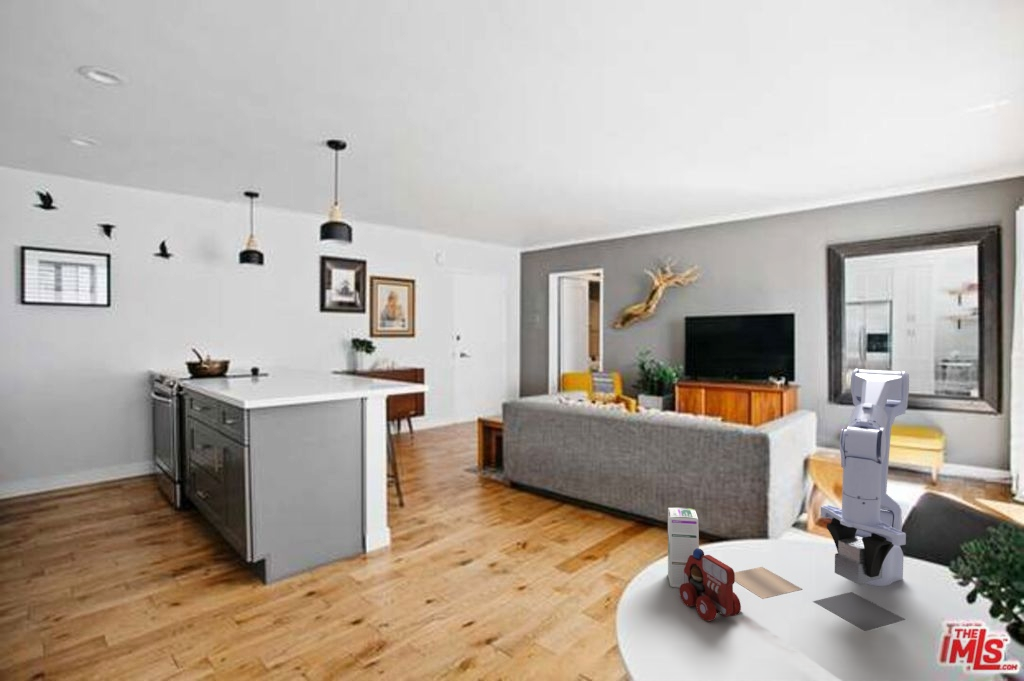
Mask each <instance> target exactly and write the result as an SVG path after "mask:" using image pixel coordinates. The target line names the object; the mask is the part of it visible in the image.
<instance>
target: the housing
mask: <svg viewBox="0 0 1024 681" xmlns="http://www.w3.org/2000/svg"><path fill="white" fill-rule="evenodd" d="M882 570H883V564H882V567H881V570H880V573H879V576H875V577H869V576H867V572H866V553H865V548H864V544H863V541H862V538H861V537H859V536H857V537H852V538H848V539H843V540H839V542H838V551H837V553H835V554H834V573H835V574H836V575H839V576H840V577H842V578H844V579H847V580H848V581H851V582H853V583H854V584H857V585H861V584H866V583H865V582H869V581H873V580H877V579H881V578H882Z"/></svg>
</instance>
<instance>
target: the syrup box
mask: <svg viewBox="0 0 1024 681" xmlns="http://www.w3.org/2000/svg"><path fill="white" fill-rule="evenodd" d="M699 520H700V519H699V518H698V514H697V512H696V509H695V508H690V507H668V508H667V577H668V581H669V582H668V583H669V586H670V587H673V588H678V589H680V586H681V585H682V584H684V568H685V566H686V563H687V561H688V558H689V556H690V555H693V551H694V550H695V549H697V548H699V549H700V543H699V542H700V539H699V538H700V536H699V532H700V531H699V530H700V529H699V528H700V526H699V524H700V523H699Z"/></svg>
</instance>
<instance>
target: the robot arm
mask: <svg viewBox="0 0 1024 681" xmlns="http://www.w3.org/2000/svg"><path fill="white" fill-rule="evenodd" d="M850 392H851V393H850V394H851V396H852V404H853V405H854V408H853V409H852V412H851V413H850V418H849V421H848V424H847V428H842V429H841V432H840V436H839V452H840V453H839V454H840V458H841V459H840V461H841V462H840V463H841V464H840V466H841V467H840V468H842V488H841V489H842V490H841V491H842V492H841V493H842V495H841V508H839V507H836V506H832V505H829V504H828V505H827V504H826V505H821V506H820V517H822V518H825V519H827V518H829V519H830V520H831V521H830V522H829V523H827V524H826V529H827V530H828V532H829V534H830V535H831V537H832V539H833V542H834V544H835V547H836V551H837V552H838V542H839V540H843V539H848V538H852V537H857V536H859V537H861V538H862V541H863V544H864V548H865V553H866V572H867V576H869V577H875V576H879V573H880V570H881V567H882V564H883V570H882V578H881V579H877V580H873V581H869V582H865V583H864V584H867V585H871V586H876V587H877V586H878V587H886V586H887V587H888V586H889V585H891V584H892V583H894V582H898V581H903V580H904V559H905V558H904V552H903V550H902V548H901V546H905V545H907V544H906V543H907V539H906V538H907V532H903V531H902V529H903V517H902V513H903V512H902V508H901V506H900V504H899V503H898V502H897V501H895V499H894V498H892V497H891V496H890V495H888V494H887V489H888V488H887V487H888V478H889V477H888V476H889V460H890V451H891V450H890V449H891V448H890V447H891V437H892V436H891V434H892V427H893V424H894V421H895V419H896V417H899V416H901V415H905V414H906V410H907V409H908V403H909V402H908V401H909V394H910V374H909V373H908V372H907V371H906V370H902V371H898V370H897V371H896V370H894V371H893V370H880V369H879V370H878V369H876V370H875V369H861V368H860V369H859V368H855V369H854V370H852V372H851V376H850Z"/></svg>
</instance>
